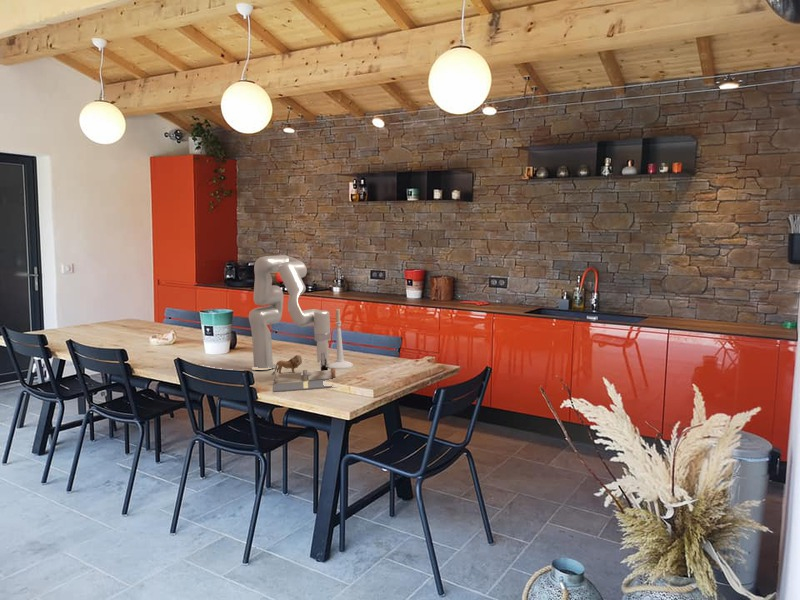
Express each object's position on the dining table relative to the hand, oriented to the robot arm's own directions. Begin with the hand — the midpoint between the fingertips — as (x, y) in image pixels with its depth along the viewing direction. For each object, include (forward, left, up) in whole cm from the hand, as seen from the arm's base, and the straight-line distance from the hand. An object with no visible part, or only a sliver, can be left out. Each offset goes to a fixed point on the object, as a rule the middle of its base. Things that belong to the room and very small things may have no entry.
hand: (324, 375), depth 273 cm
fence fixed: (+5, -15, -1) cm, 16 cm away
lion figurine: (-16, -17, -2) cm, 23 cm away
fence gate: (+5, -1, 0) cm, 5 cm away
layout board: (+6, -9, -1) cm, 11 cm away
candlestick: (-23, +9, -2) cm, 25 cm away
